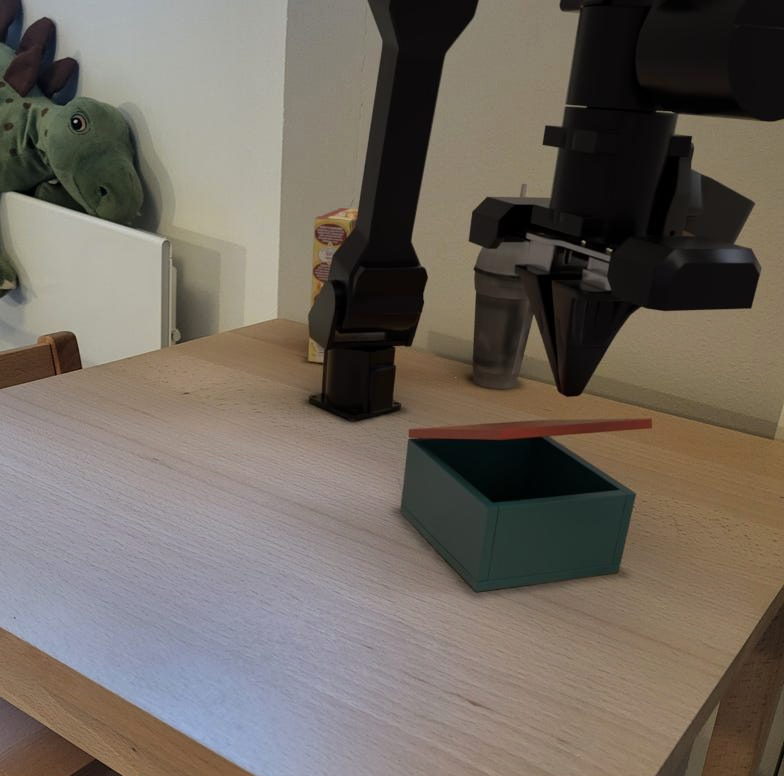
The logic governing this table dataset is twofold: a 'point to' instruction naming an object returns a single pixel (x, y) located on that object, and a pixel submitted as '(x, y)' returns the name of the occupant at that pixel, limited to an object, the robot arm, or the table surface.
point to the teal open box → (515, 510)
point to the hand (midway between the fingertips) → (569, 394)
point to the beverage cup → (500, 314)
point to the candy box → (327, 256)
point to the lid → (530, 429)
